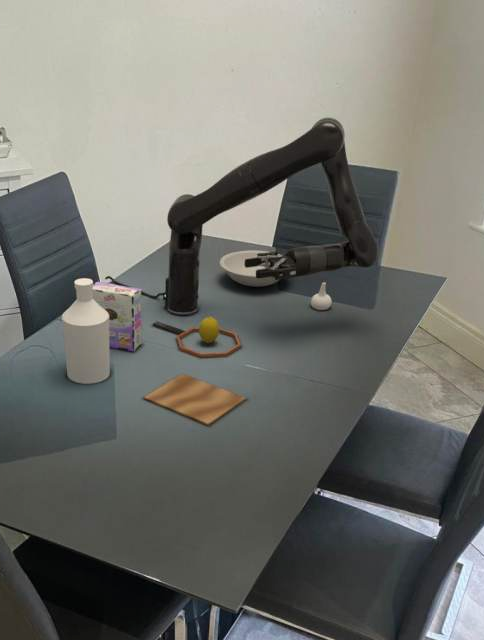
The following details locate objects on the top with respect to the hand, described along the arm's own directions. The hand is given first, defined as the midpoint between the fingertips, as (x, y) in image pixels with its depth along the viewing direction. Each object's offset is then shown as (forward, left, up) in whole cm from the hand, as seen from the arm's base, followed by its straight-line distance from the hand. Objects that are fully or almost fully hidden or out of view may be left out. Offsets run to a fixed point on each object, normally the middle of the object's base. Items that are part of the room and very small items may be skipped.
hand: (250, 268), depth 200 cm
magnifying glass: (-12, -9, -21) cm, 25 cm away
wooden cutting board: (+10, -37, -21) cm, 43 cm away
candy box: (-26, -26, -21) cm, 42 cm away
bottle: (-20, -44, -21) cm, 53 cm away
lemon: (-6, -9, -21) cm, 23 cm away
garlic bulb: (+6, +34, -21) cm, 40 cm away
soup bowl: (-21, +38, -21) cm, 48 cm away
